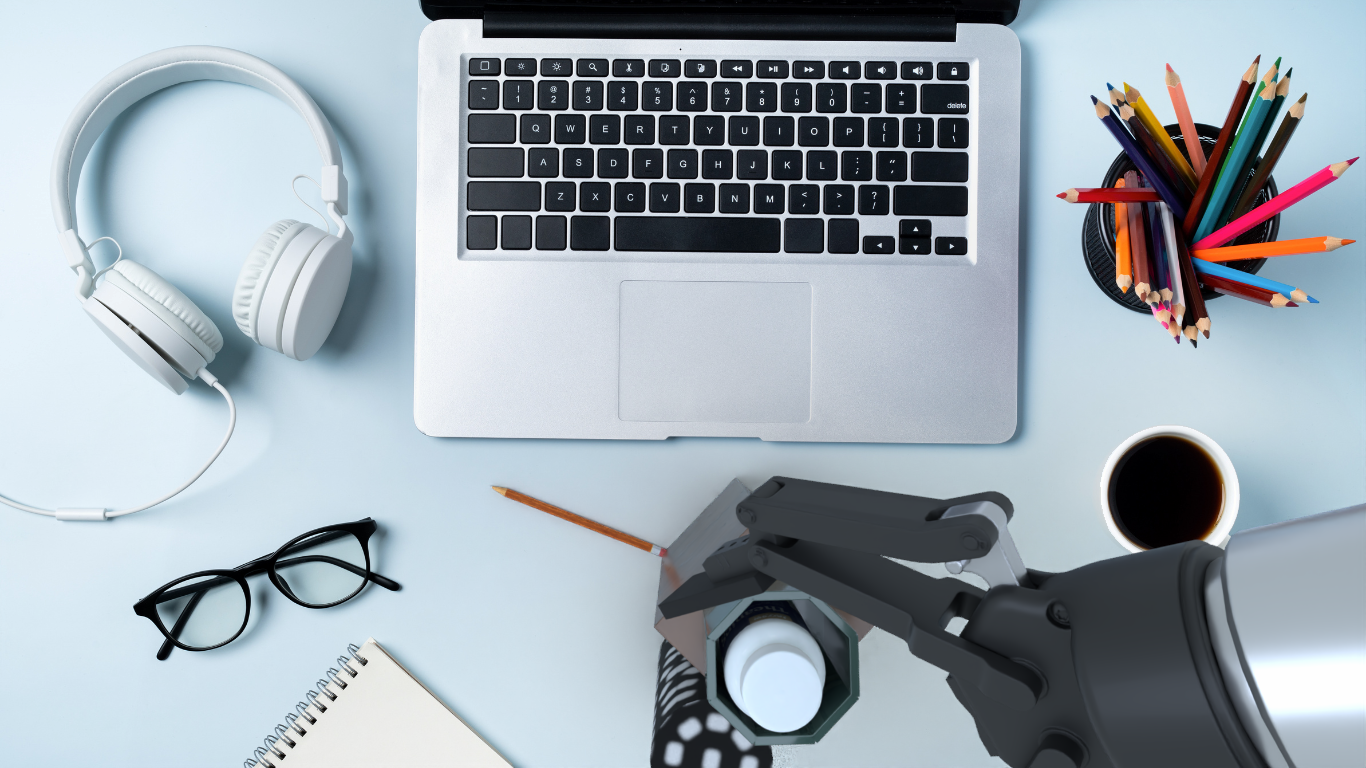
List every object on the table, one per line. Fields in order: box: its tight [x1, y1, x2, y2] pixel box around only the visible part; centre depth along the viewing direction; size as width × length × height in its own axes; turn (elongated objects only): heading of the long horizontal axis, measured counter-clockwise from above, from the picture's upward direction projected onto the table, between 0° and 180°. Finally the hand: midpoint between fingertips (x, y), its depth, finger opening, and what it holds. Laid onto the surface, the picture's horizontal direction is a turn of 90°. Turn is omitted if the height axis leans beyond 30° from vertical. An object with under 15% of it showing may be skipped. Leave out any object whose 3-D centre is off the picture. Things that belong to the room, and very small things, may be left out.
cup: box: [702, 580, 861, 746], centre depth 44 cm, size 8×8×8 cm
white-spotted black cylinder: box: [649, 638, 774, 768], centre depth 62 cm, size 8×8×20 cm
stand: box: [653, 477, 875, 676], centre depth 60 cm, size 10×10×24 cm
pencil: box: [489, 485, 667, 558], centre depth 72 cm, size 1×18×1 cm, turn 69°
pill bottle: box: [719, 600, 826, 732], centre depth 42 cm, size 5×5×10 cm
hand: (752, 723), depth 36 cm, fingers open, 13 cm apart
